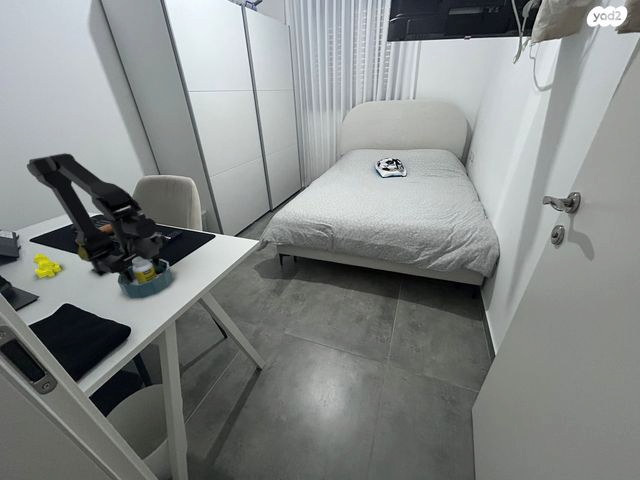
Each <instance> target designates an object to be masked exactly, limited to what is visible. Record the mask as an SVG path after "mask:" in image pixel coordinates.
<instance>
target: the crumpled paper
mask: <svg viewBox="0 0 640 480" xmlns="http://www.w3.org/2000/svg"><path fill="white" fill-rule="evenodd" d="M33 263H34V264H36V265H37V268H36V269H34V271H35V274H36V275H37V277H38V278H39V279H42V278H44V277H48V278H52V277H55V276H56V274H55V273H57V272H61V271H62V269H61V266H60V265H59V263H58V262H57V261H52V260H50V259H49V257H48V256H47V255H44V254H42V253H38V252H37V253H36V254H35V256H34V258H33Z"/></svg>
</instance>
